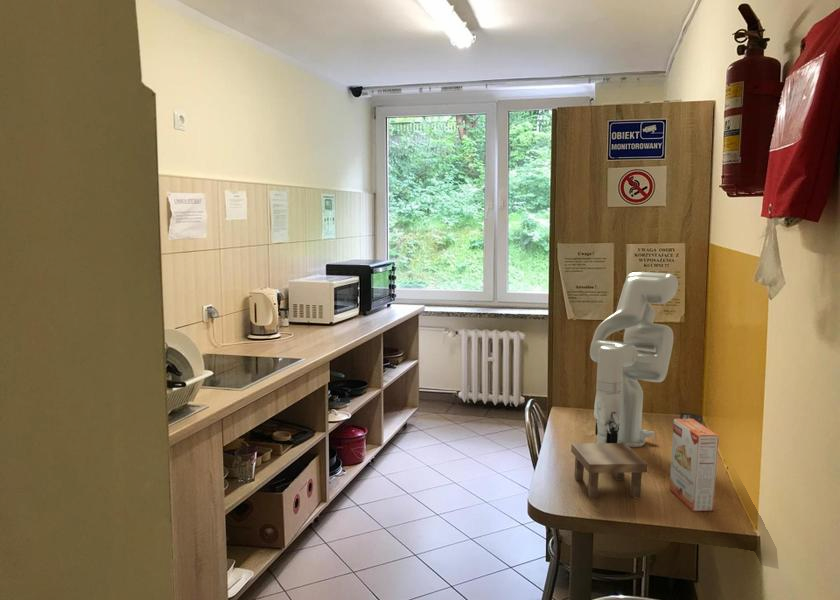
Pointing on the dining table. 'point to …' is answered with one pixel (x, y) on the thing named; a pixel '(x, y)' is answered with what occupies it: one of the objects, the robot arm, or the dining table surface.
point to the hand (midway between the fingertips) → (605, 440)
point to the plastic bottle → (602, 431)
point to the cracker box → (694, 464)
